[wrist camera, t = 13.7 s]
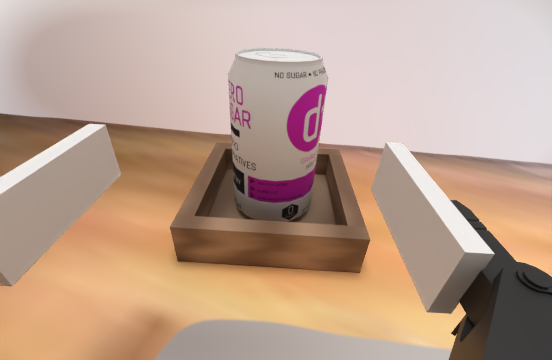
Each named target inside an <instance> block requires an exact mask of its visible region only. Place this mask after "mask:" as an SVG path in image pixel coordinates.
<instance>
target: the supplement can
mask: <svg viewBox="0 0 552 360" xmlns="http://www.w3.org/2000/svg"><path fill="white" fill-rule="evenodd" d="M322 60H323V57H322V56H321V55H319V54H316V53H312V52H307V51H300V50H291V49H272V48H261V49H245V50H240V51H237V52H236V53H235V60H234V62H233V64H232V67H231V69H230V71H229V73H228V80H229V100H230V117H231V118H230V119H231V138H232V156H233V175H234V194H235V202H236V204H237V207H238V209H239V210H241V211H242V212H243V213H244V214H245V215H246V216H249V217H250V218H252V219H254V220H266V221H282V222H288V221H291V220H293V219H295V218H297V217H300V216H301V215H302V214H303V213H304V212H306V211H307V210H308V208H309V205H310V202H311V196H312V189H313V182H314V175H315V168H316V160H317V153H318V146H319V139H320V131H321V124H322V118H323V110H324V103H325V96H326V89H327V82H328V76H327V74H326V71H325V68H324V65H323V62H322Z"/></svg>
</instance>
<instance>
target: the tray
mask: <svg viewBox="0 0 552 360" xmlns="http://www.w3.org/2000/svg"><path fill="white" fill-rule="evenodd" d="M170 229H171V234H172V238H173V242H174V246H175V251H176V255H177V259H178V261H188V262H204V263H219V264H235V265H250V266H265V267H281V268H296V269H312V270H327V271H343V272H358V273H360V270H361V267H362V263H363V260H364V257H365V254H366V251H367V248H368V245H369V242H370V238H369V235H368V232H367V229H366V226H365V223H364V220H363V217H362V215H361V212H360V209H359V206H358V203H357V200H356V197H355V194H354V191H353V188H352V186H351V183H350V180H349V177H348V174H347V171H346V168H345V165H344V162H343V159H342V157H341V154H340V151H339V150H332V149H318V153H317V160H316V168H315V175H314V182H313V189H312V196H311V202H310V205H309V208H308V210H307V211H306V212H304V213H303V214H302V215H301V216H300V217H297V218H295V219H293V220H291V221H288V222H282V221H266V220H254V219H252V218H250V217H249V216H246V215H245V214H244V213H243V212H242V211H241V210H239V209H238V207H237V204H236V202H235V194H234V175H233V156H232V144H228V143H216V145H215V146H214V148H213V150H212V152H211V154H210V155H209V157H208V159H207V161H206V163H205V165H204V166H203V168H202V170H201V172H200V174H199V175H198V177H197V179H196V181H195V183H194V184H193V186H192V188H191V190H190V192H189V194H188V195H187V197H186V199H185V201H184V203H183V204H182V206H181V208H180V210H179V212H178V214H177V215H176V217H175V219H174V221H173V223H172V224H171V226H170Z"/></svg>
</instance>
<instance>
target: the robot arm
mask: <svg viewBox="0 0 552 360" xmlns="http://www.w3.org/2000/svg"><path fill="white" fill-rule="evenodd" d="M120 176H121V172H120V169H119V166H118V163H117V160H116V157H115V153H114V150H113V147H112V144H111V141H110V138H109V134H108V131H107V128H106V125H99V124H88V125H87V126H85V127H83V128H82V129H80V130H78V131H77V132H75V133H73V134H72V135H70V136H68V137H67V138H65V139H63V140H62V141H60V142H58V143H57V144H55V145H53V146H52V147H50V148H48V149H47V150H45V151H43V152H42V153H40V154H38V155H37V156H35V157H33V158H32V159H30V160H28V161H27V162H25V163H23V164H22V165H20V166H18V167H17V168H15V169H13V170H12V171H10V172H8V173H7V174H5V175H3V176H2V177H0V286H13V285H14V284H15V283H16V282H17V281H18V280H19V279H20V278H21V277H22V276H23V275H24V274H25V273H26V272H27V271H28V270H29V269H30V268H31V267H32V266H33V265H34V264H35V263H36V262H37V261H38V259H39V258H40V257H41V256H42V255H43V254H44V253H45V252H46V251H47V250H48V249H49V248H50V247H51V246H52V245H53V244H54V243H55V242H56V241H57V240H58V239H59V238H60V237H61V236H62V235H63V234H64V233H65V232H66V231H67V230H68V229H69V228H70V227H71V226H72V225H73V224H74V223H75V222H76V221H77V220H78V219H79V218H80V217H81V215H82V214H83V213H84V212H85V211H86V210H87V209H88V208H89V207H90V206H91V205H92V204H93V203H94V202H95V201H96V200H97V199H98V198H99V197H100V196H101V195H102V194H103V193H104V192H105V191H106V190H107V189H108V188H109V187H110V186H111V185H112V184H113V183H114V182H115V181H116V180H117V179H118V178H119V177H120ZM372 193H373V195H374V197H375V199H376V201H377V204H378V206H379V208H380V210H381V212H382V215H383V217H384V219H385V221H386V223H387V226H388V228H389V230H390V232H391V234H392V237H393V239H394V241H395V243H396V245H397V248H398V250H399V252H400V254H401V256H402V259H403V261H404V263H405V265H406V267H407V270H408V272H409V274H410V276H411V278H412V281H413V283H414V285H415V287H416V289H417V292H418V294H419V296H420V298H421V300H422V303H423V305H424V307H425V309H426V311H427V312H433V313H449V314H451V313H452V312H453V310H454V309H455V308H456V306H457V305H458V303H459V302H460V304H461V305H462V307H463V309H464V310H465V312H466V315H465V316H464V318H463V319H462V320H461V321H460V323H459V324H458V325H457V326H456V328H455V329H454V330H453V332H452V333H451V334H453V335H454V336H455V335H456V334H457V336H456V339H455V342H454V345H453V348H452V351H451V354H450V357H449V360H552V277H551V276H550V275H548V274H547V273H545V272H543V271H542V270H540V269H538V268H536V267H534V266H531V265H528V264H525V263H521V262H516V261H515V260H514V258H513V257H512V256H511V255H510V254H509V253H508V252H507V251H506V249H505V248H504V247H503V246H502V245H501V244H500V243H499V242H498V240H497V239H496V238H495V237H494V236H493V235H492V234H491V233H490V232H489V231H487V228H486V227H485V226H484V225H483V224H482V223H481V222H479V219H478V218H477V217H476V216H475V215H474V214H473V212H472V211H471V210H470V209H468V208H467V207H465V206H464V205H462V204H461V203H460V202H458V201H457V200H449V198H448V197H447V196H446V195H445V194H444V192H443V191H442V190H441V189H440V188H439V186H438V185H437V184H436V183H435V182H434V180H433V179H432V178H431V177H430V176H429V174H428V173H427V172H426V171H425V170H424V168H423V167H422V166H421V165H420V164H419V162H418V161H417V160H416V159H415V158H414V156H413V155H412V154H411V153H410V152H409V150H407V148H406V147H405V146H404V145H403V144H402V143H393V142H386V144H385V147H384V150H383V153H382V157H381V160H380V163H379V167H378V170H377V173H376V177H375V180H374V183H373V186H372Z"/></svg>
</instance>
